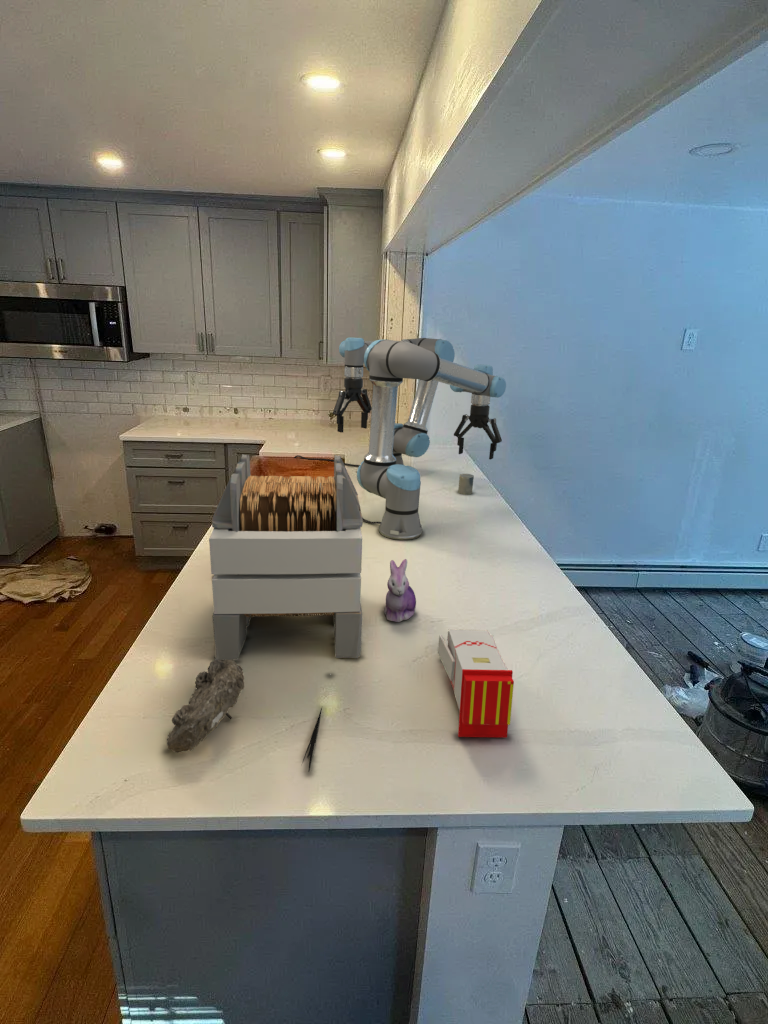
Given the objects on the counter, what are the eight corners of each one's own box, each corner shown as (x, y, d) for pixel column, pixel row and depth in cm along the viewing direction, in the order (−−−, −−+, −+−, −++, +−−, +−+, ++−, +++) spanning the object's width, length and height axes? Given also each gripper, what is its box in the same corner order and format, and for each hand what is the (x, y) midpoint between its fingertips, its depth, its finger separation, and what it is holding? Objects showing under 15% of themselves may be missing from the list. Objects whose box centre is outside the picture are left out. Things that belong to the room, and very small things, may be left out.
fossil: (192, 660, 117) (244, 628, 112) (224, 691, 120) (276, 661, 115) (142, 746, 98) (202, 712, 93) (182, 779, 101) (242, 748, 96)
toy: (488, 613, 130) (523, 677, 101) (484, 667, 133) (517, 744, 104) (435, 612, 130) (455, 676, 101) (432, 666, 133) (451, 743, 103)
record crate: (234, 590, 156) (226, 444, 142) (353, 588, 159) (357, 447, 146) (212, 662, 124) (200, 485, 110) (361, 659, 128) (367, 486, 114)
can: (467, 495, 245) (469, 478, 242) (455, 492, 248) (457, 475, 245) (474, 492, 249) (476, 475, 247) (462, 489, 253) (463, 472, 250)
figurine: (392, 627, 141) (395, 572, 136) (374, 608, 149) (376, 556, 144) (425, 619, 145) (429, 566, 140) (405, 601, 154) (408, 550, 149)
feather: (331, 679, 122) (336, 673, 122) (307, 777, 96) (313, 769, 95) (324, 675, 122) (329, 669, 121) (298, 772, 95) (304, 764, 95)
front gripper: (513, 407, 224) (507, 459, 231) (456, 399, 236) (452, 449, 244) (506, 409, 218) (500, 463, 225) (448, 402, 230) (444, 453, 238)
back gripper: (337, 380, 217) (336, 435, 224) (381, 377, 234) (379, 427, 242) (324, 378, 222) (323, 432, 229) (368, 375, 239) (366, 424, 246)
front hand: (475, 456), depth 234 cm, fingers open, 13 cm apart
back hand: (352, 430), depth 235 cm, fingers open, 13 cm apart
